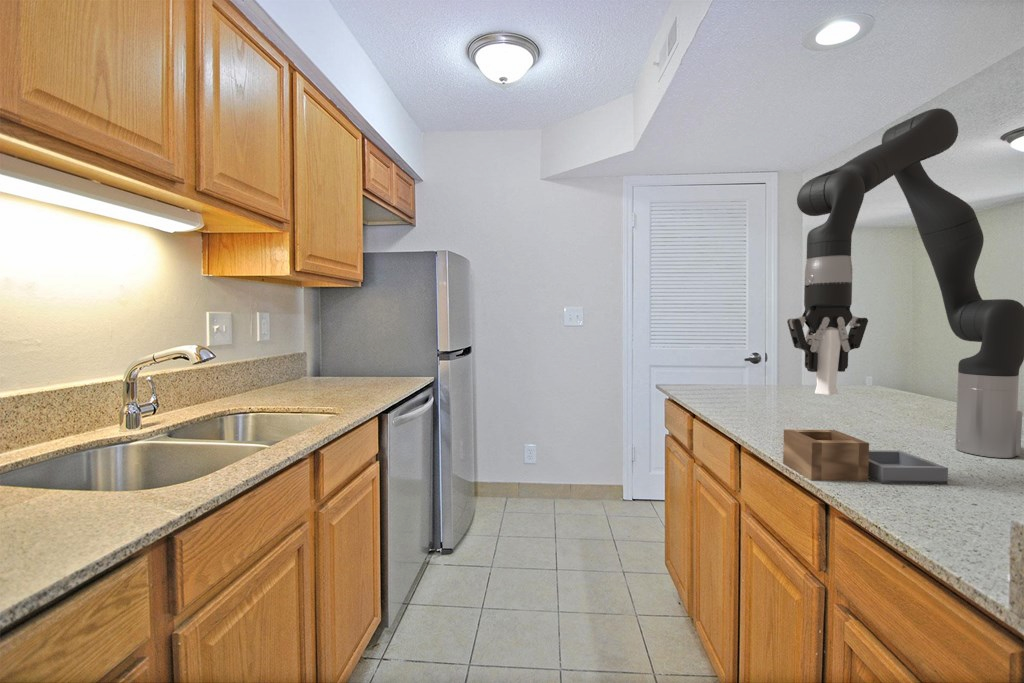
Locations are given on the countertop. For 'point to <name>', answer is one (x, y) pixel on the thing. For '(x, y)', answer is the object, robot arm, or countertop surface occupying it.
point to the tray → (904, 468)
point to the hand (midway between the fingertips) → (825, 370)
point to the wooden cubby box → (826, 455)
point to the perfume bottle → (828, 362)
